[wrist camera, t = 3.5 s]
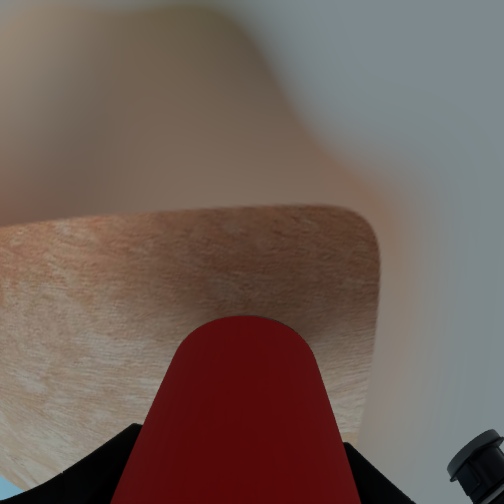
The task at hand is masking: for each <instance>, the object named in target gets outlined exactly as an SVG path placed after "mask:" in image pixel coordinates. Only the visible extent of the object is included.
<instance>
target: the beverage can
mask: <svg viewBox="0 0 504 504" xmlns="http://www.w3.org/2000/svg"><path fill="white" fill-rule="evenodd" d="M110 504H361V501H360V498H359V495H358V491H357V488H356V484H355V481H354V478H353V474H352V471H351V468H350V465H349V461H348V458H347V455H346V452H345V448H344V445H343V442H342V439H341V436H340V432H339V429H338V426H337V423H336V420H335V417H334V414H333V411H332V408H331V404H330V401H329V398H328V395H327V392H326V389H325V386H324V383H323V380H322V377H321V374H320V371H319V368H318V365H317V362H316V359H315V357H314V354H313V352H312V350H311V349H310V347H309V346H308V344H307V343H306V342H305V340H304V339H303V338H302V337H301V336H300V335H299V334H298V333H297V332H295V331H294V330H293V329H291V328H290V327H288V326H287V325H285V324H283V323H281V322H279V321H276V320H273V319H270V318H267V317H262V316H256V315H236V316H230V317H224V318H220V319H216V320H213V321H211V322H208V323H206V324H204V325H202V326H200V327H199V328H197V329H196V330H194V331H193V332H192V333H190V334H189V335H188V336H187V337H186V338H185V339H184V340H183V342H182V343H181V344H180V346H179V347H178V349H177V351H176V353H175V355H174V357H173V359H172V361H171V363H170V366H169V368H168V370H167V372H166V374H165V377H164V379H163V381H162V383H161V385H160V388H159V390H158V392H157V394H156V397H155V399H154V401H153V403H152V406H151V408H150V410H149V412H148V415H147V417H146V419H145V422H144V424H143V426H142V428H141V431H140V433H139V435H138V438H137V440H136V442H135V445H134V447H133V449H132V452H131V454H130V456H129V459H128V461H127V464H126V466H125V468H124V471H123V473H122V476H121V478H120V480H119V483H118V485H117V488H116V490H115V493H114V495H113V498H112V500H111V503H110Z"/></svg>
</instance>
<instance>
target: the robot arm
mask: <svg viewBox="0 0 504 504" xmlns="http://www.w3.org/2000/svg"><path fill="white" fill-rule="evenodd" d="M142 426H143V425H141V424H137V423H133V424H131V425H130V426H128V427H127V428H126V429H124V430H123V431H122V432H120V433H119V434H117V435H116V436H115V437H113V438H112V439H110V440H109V441H108V442H106V443H105V444H103V445H102V446H100V447H99V448H98V449H96V450H95V451H93V452H92V453H90V454H89V455H87V456H86V457H84V458H83V459H81V460H80V461H78V462H77V463H75V464H74V465H72V466H71V467H69V468H68V469H66V470H65V471H63V474H62V473H60V474H58V475H57V476H55V477H54V478H52V479H50V480H48V481H47V482H45V483H43V484H41V485H39V486H37V487H35V488H33V489H30V490H28V491H25V492H23V493H20V494H18V495H15V496H13V497H10V498H7V499H4V500H0V504H110V503H111V500H112V498H113V495H114V493H115V490H116V488H117V485H118V483H119V480H120V478H121V476H122V473H123V471H124V468H125V466H126V464H127V461H128V459H129V456H130V454H131V452H132V449H133V447H134V445H135V442H136V440H137V438H138V435H139V433H140V431H141V428H142ZM503 440H504V437H501V438H499V439H496V440H494V441H492V442H490V443H487V444H485V445H483V446H480V447H478V448H476V449H475V450H473V452H472V453H471V454H470V456H469V457H468V458H467V459H466V461H465V462H464V463H463V464H462V466H461V467H460V468H459V469H458V471H457V472H456V473H455V474H454V475H453V476H452V478H451V479H450V482H454V481H456V480H458V481H459V483H460V485H461V486H462V488H463V490H464V491H465V493H466V495H467V496H469V497H470V499H471V500H472V502H473V504H487V503H488V504H504V453H503V452H502V451H501V449H500V448H499V446H500V444H501V443H502V442H503ZM343 445H344V448H345V452H346V455H347V458H348V461H349V465H350V468H351V471H352V474H353V478H354V481H355V484H356V488H357V491H358V495H359V498H360V501H361V504H416V503H415V502H414V501H411V499H410V498H409V497H408V496H406V495H405V494H404V493H403V492H402V491H401V490H399V489H398V488H397V487H396V486H395V485H394V484H392V483H391V482H390V481H389V480H388V479H387V478H386V477H385V476H384V475H383V474H382V473H380V472H379V471H378V470H377V469H376V468H375V467H374V466H373V465H372V464H371V463H370V462H368V461H367V460H366V459H365V458H364V457H363V456H362V455H361V454H360V453H359V452H358V451H357V450H356V449H355V448H354V447H353V446H352V445H351V444H350V443H348V442H343ZM499 493H500V494H499Z"/></svg>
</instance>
